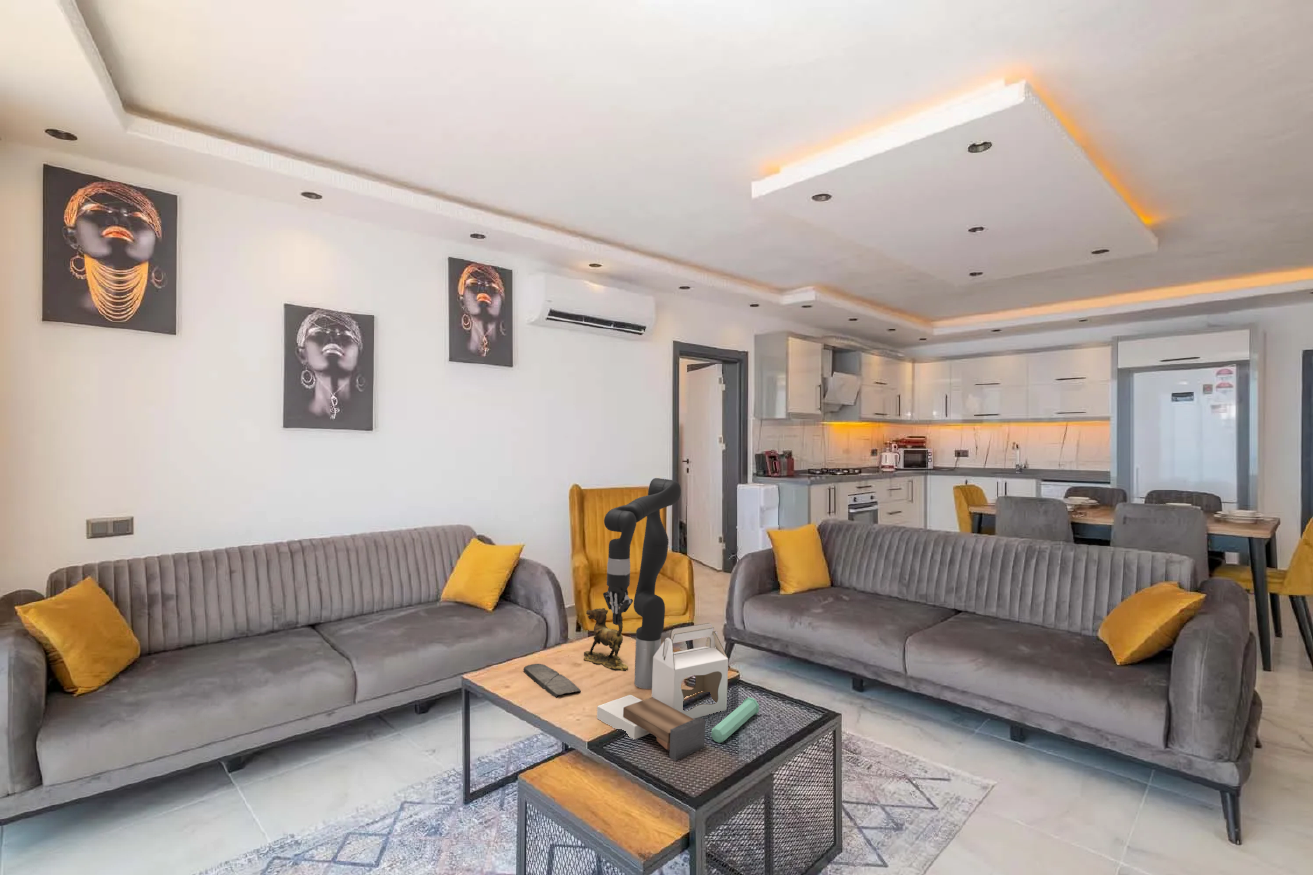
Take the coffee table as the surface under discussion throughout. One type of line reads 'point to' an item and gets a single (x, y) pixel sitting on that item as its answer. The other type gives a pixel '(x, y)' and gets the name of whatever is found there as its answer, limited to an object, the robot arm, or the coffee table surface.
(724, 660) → the gable box
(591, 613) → the figurine
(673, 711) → the plank
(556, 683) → the stone slab
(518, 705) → the coffee table surface
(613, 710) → the riser
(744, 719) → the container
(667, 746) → the support block
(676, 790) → the coffee table surface
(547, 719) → the coffee table surface
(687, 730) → the block
